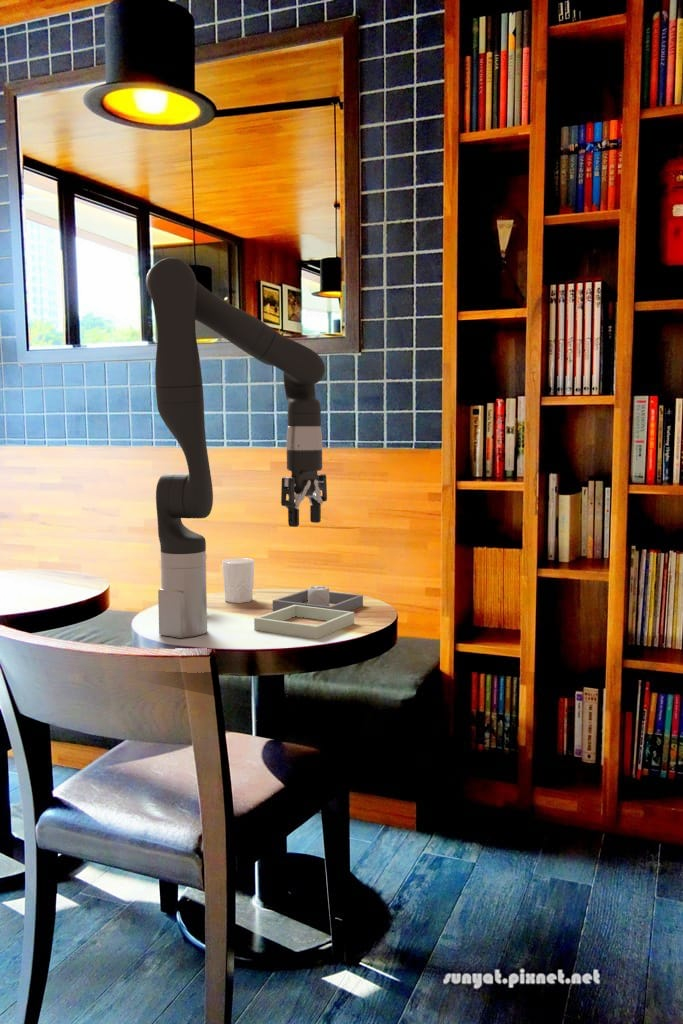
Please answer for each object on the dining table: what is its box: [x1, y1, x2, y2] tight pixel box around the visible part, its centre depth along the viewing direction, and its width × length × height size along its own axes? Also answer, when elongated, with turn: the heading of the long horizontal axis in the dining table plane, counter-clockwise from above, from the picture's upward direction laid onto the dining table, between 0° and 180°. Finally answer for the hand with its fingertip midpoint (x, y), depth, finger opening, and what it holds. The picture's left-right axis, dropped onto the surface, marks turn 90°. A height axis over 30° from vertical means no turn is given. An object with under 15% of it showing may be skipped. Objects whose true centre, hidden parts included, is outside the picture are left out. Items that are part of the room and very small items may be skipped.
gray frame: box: [272, 588, 364, 612], centre depth 195 cm, size 16×16×2 cm
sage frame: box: [253, 605, 355, 640], centre depth 177 cm, size 16×16×2 cm
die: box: [307, 585, 330, 606], centre depth 195 cm, size 5×5×5 cm
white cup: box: [221, 557, 255, 604], centre depth 204 cm, size 8×8×10 cm
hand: (304, 524), depth 175 cm, fingers open, 8 cm apart
